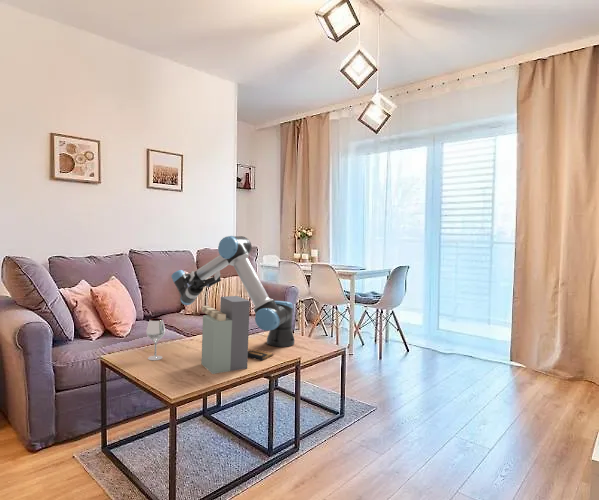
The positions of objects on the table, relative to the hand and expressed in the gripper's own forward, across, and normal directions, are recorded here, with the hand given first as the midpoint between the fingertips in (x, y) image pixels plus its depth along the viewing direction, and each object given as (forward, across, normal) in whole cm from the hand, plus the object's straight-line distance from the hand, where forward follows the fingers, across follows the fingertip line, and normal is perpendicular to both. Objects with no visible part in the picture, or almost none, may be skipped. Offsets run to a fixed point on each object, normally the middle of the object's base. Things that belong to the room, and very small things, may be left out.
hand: (206, 273), depth 203 cm
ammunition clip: (+3, -14, -45) cm, 48 cm away
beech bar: (+12, +6, -26) cm, 30 cm away
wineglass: (-15, +26, -36) cm, 47 cm away
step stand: (+5, +2, -48) cm, 48 cm away
